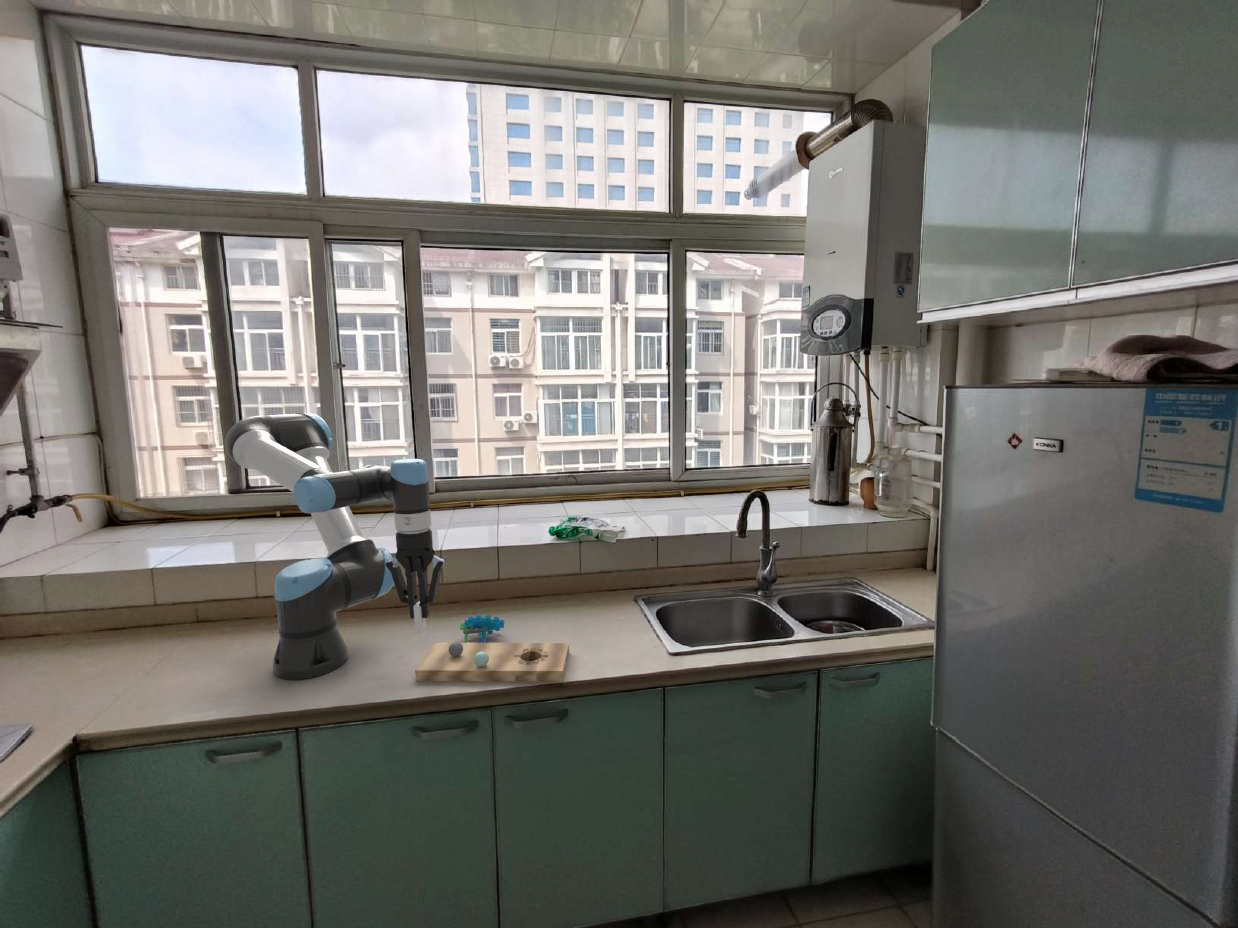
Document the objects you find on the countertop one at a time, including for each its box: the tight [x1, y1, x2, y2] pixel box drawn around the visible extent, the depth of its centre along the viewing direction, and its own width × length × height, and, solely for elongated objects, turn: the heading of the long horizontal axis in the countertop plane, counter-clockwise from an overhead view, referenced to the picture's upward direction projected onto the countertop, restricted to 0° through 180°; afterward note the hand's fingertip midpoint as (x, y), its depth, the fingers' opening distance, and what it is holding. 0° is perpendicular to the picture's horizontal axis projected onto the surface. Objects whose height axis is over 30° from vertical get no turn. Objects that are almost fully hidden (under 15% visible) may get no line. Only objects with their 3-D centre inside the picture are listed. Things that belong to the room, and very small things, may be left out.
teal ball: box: [474, 651, 489, 667], centre depth 126 cm, size 3×3×3 cm
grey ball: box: [449, 641, 463, 657], centre depth 130 cm, size 3×3×3 cm
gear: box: [459, 614, 505, 643], centre depth 143 cm, size 11×6×10 cm
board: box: [414, 642, 570, 683], centre depth 131 cm, size 32×13×2 cm, turn 89°
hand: (420, 631), depth 130 cm, fingers closed
